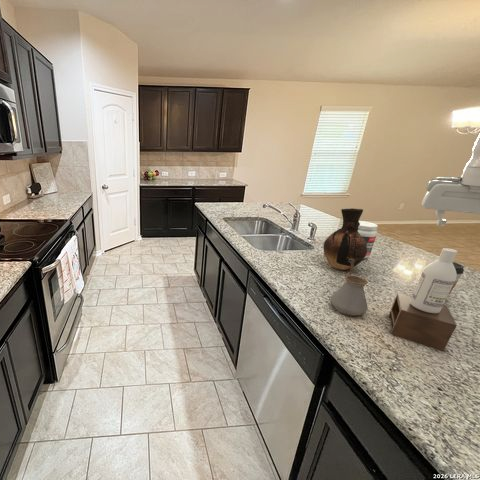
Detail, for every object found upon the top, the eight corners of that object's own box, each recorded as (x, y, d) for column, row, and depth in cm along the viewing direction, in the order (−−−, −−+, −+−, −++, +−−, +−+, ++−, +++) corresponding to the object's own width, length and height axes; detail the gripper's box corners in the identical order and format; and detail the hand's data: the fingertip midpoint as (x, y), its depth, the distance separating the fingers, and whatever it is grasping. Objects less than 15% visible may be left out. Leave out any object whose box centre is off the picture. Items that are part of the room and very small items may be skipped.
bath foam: (446, 313, 78) (475, 254, 70) (427, 315, 77) (455, 255, 69) (420, 300, 84) (445, 244, 77) (403, 302, 83) (426, 246, 76)
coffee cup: (447, 305, 97) (464, 270, 92) (418, 295, 104) (432, 262, 98) (450, 298, 102) (467, 264, 96) (422, 289, 108) (436, 257, 103)
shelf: (434, 329, 85) (446, 305, 81) (443, 351, 76) (457, 325, 72) (388, 315, 92) (397, 292, 88) (391, 334, 83) (401, 309, 79)
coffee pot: (368, 323, 87) (381, 285, 82) (329, 312, 93) (339, 277, 87) (359, 293, 105) (370, 261, 99) (326, 286, 110) (335, 255, 105)
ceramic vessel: (359, 279, 115) (380, 216, 104) (315, 268, 125) (330, 210, 115) (361, 263, 130) (379, 207, 120) (322, 255, 141) (336, 202, 130)
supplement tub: (370, 261, 133) (382, 228, 126) (341, 256, 139) (350, 224, 132) (367, 253, 143) (377, 222, 136) (340, 248, 149) (348, 218, 143)
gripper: (433, 177, 70) (415, 224, 75) (556, 183, 59) (526, 238, 64) (428, 175, 75) (412, 219, 80) (542, 180, 63) (514, 231, 68)
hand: (463, 228), depth 72 cm, fingers open, 8 cm apart
